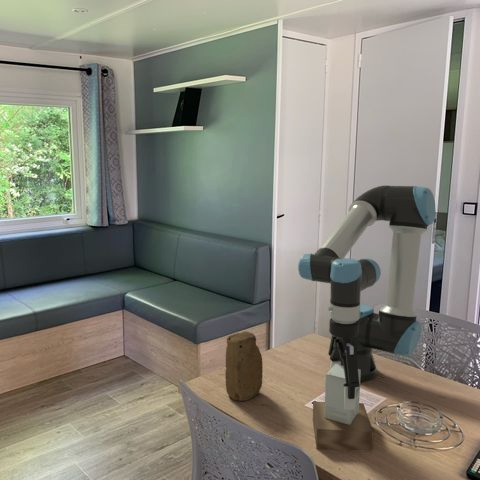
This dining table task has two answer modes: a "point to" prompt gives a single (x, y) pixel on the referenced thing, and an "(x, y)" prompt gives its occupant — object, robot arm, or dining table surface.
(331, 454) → the dining table surface
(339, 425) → the walnut block
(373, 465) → the dining table surface
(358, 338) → the robot arm
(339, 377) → the supplement box
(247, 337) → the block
